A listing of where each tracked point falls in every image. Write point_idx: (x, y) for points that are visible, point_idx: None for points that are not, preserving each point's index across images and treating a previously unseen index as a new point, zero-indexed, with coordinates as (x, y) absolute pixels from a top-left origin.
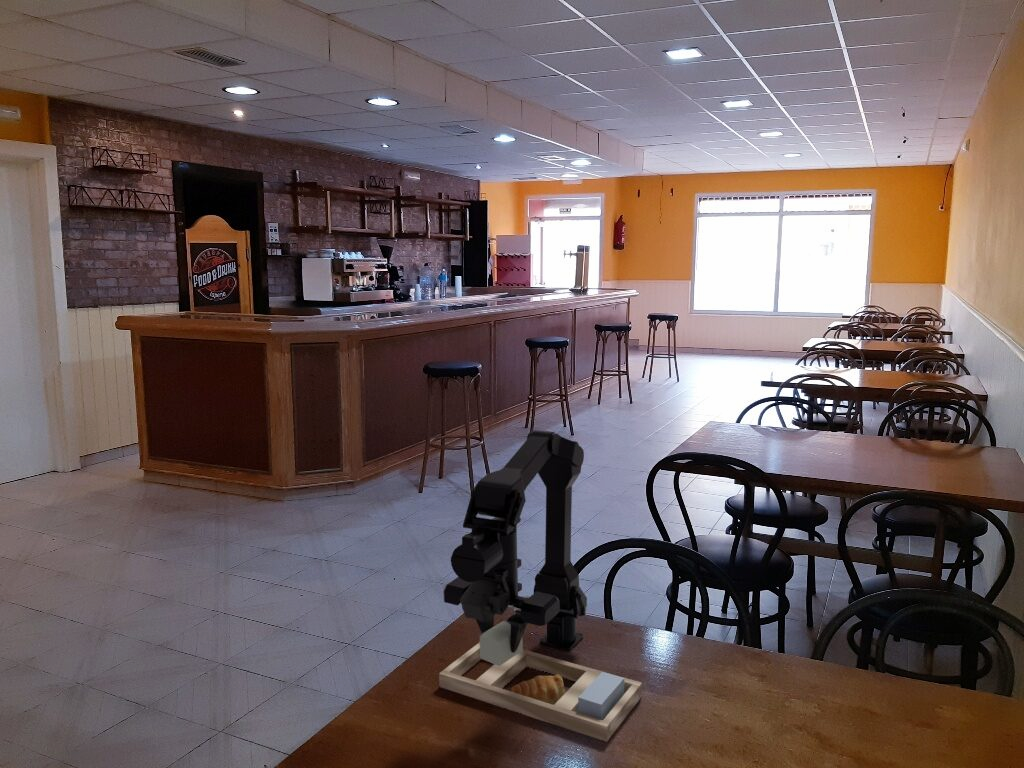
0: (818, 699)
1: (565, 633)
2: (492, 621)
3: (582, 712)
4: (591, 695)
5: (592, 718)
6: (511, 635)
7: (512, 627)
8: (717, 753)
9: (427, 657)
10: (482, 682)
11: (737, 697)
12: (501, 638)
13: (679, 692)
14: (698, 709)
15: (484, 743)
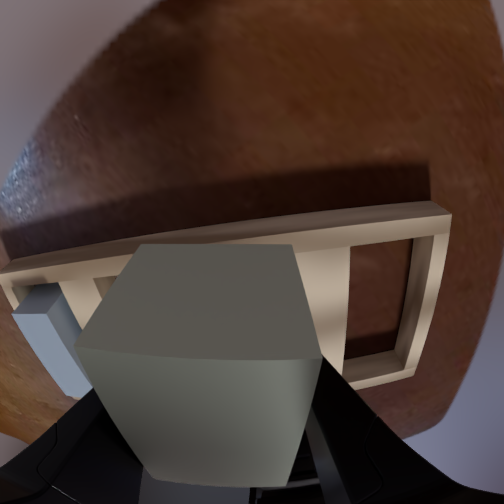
0: (14, 416)
1: None
2: (320, 478)
3: (54, 293)
4: (42, 331)
5: (20, 282)
6: (81, 431)
7: (36, 477)
8: None
9: (489, 274)
10: (324, 250)
11: (37, 406)
12: (118, 397)
13: (68, 400)
14: (31, 378)
15: (161, 68)
